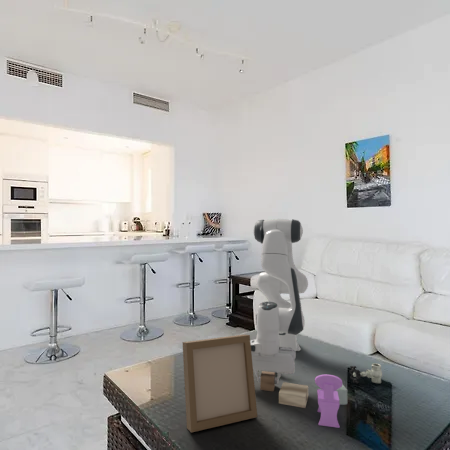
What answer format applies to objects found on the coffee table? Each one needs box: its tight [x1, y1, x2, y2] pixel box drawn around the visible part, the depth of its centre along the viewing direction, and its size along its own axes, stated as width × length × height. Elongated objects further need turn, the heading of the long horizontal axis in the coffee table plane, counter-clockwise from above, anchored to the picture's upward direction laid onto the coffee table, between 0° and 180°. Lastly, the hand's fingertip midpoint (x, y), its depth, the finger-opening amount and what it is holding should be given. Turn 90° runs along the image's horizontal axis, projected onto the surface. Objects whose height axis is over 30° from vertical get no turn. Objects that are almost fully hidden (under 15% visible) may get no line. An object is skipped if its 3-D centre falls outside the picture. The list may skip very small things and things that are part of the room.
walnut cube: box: [259, 371, 276, 392], centre depth 130 cm, size 5×5×5 cm
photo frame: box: [182, 334, 258, 434], centre depth 110 cm, size 15×22×25 cm
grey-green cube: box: [335, 383, 348, 405], centre depth 121 cm, size 5×5×5 cm
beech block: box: [278, 381, 309, 409], centre depth 121 cm, size 9×9×4 cm
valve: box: [348, 362, 383, 384], centre depth 136 cm, size 7×7×12 cm
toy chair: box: [314, 373, 343, 429], centre depth 109 cm, size 8×9×15 cm
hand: (267, 382), depth 130 cm, fingers closed on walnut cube, 5 cm apart
